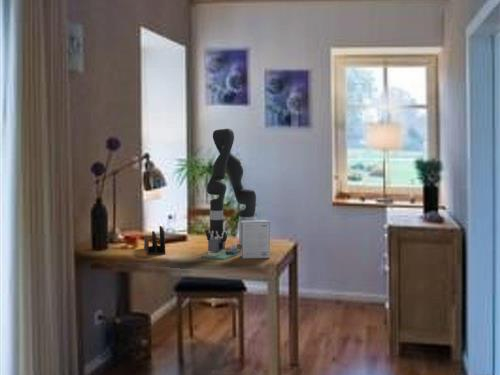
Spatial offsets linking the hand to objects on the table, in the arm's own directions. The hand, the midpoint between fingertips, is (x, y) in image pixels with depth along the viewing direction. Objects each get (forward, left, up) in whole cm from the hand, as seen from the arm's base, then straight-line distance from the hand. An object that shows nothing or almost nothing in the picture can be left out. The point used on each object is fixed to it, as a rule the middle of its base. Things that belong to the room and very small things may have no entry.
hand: (216, 248), depth 366 cm
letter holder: (+8, -37, -4) cm, 38 cm away
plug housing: (0, 0, -1) cm, 1 cm away
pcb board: (-2, +2, -4) cm, 5 cm away
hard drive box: (-8, +20, -4) cm, 22 cm away
